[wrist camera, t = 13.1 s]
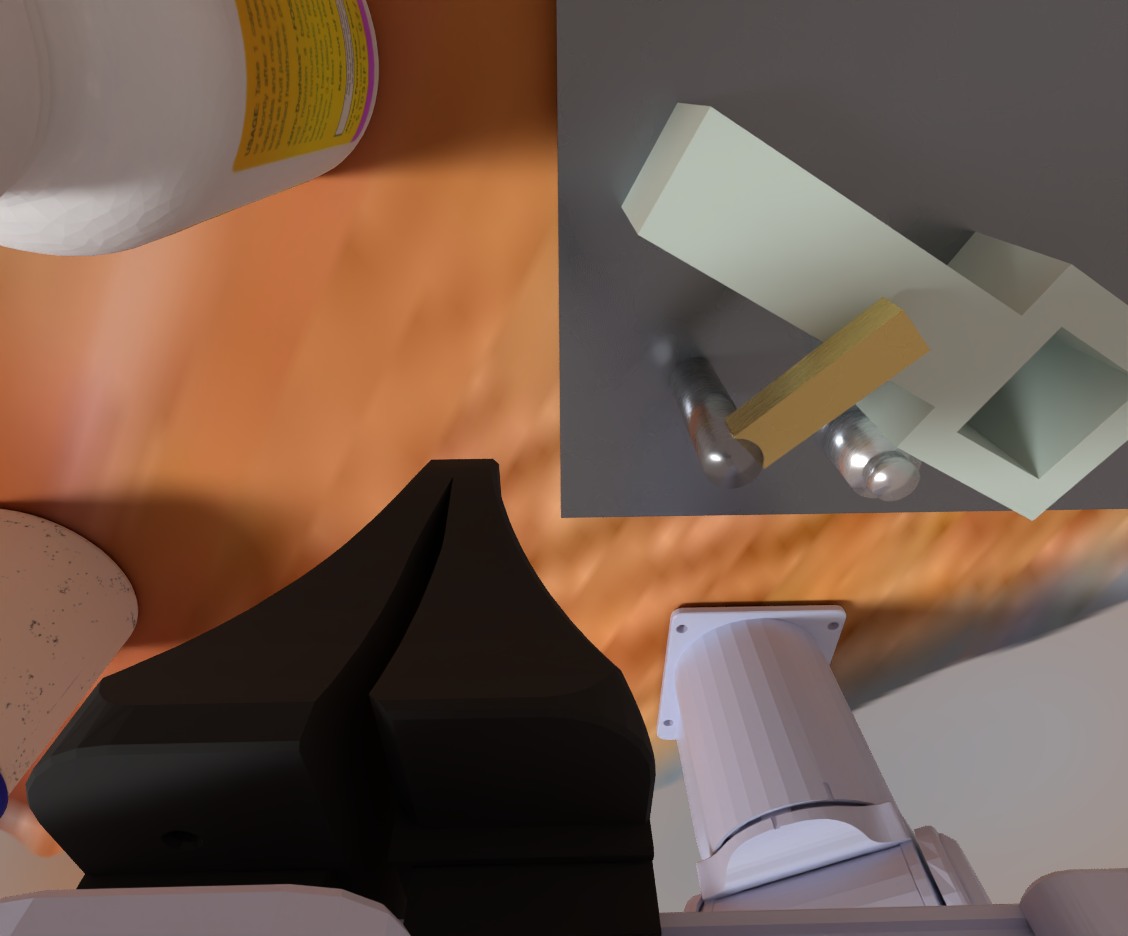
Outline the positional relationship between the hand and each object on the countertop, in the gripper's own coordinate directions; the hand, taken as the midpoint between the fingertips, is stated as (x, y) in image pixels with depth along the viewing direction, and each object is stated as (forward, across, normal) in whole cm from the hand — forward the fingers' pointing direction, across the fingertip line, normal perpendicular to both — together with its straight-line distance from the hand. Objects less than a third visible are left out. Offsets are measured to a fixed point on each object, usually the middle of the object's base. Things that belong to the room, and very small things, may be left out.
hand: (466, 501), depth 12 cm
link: (+9, -12, -1) cm, 15 cm away
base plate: (+10, -14, -1) cm, 17 cm away
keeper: (+10, -8, 0) cm, 13 cm away
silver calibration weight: (+10, -13, +4) cm, 17 cm away
